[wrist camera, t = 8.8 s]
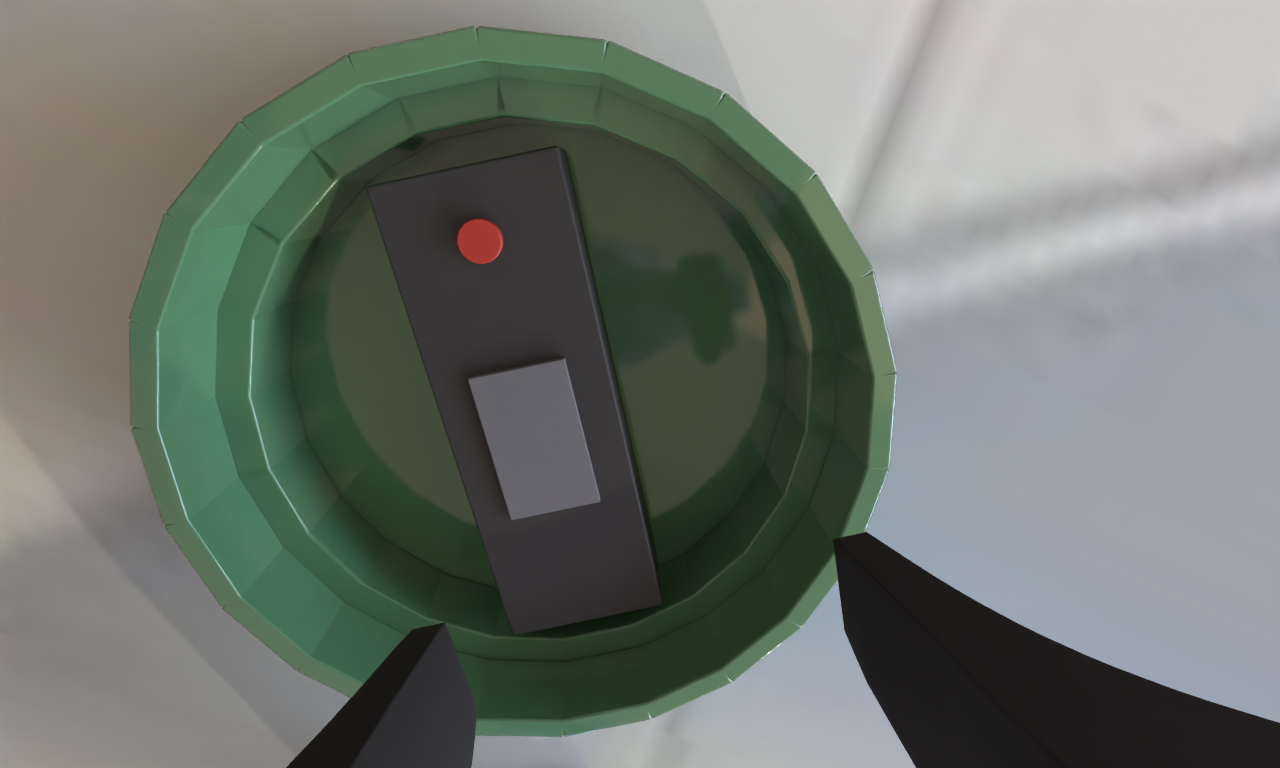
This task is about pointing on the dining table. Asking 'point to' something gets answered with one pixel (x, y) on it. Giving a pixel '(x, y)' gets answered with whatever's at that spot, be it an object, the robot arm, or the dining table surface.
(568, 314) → the remote
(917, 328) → the dining table surface
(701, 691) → the bowl
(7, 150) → the dining table surface
